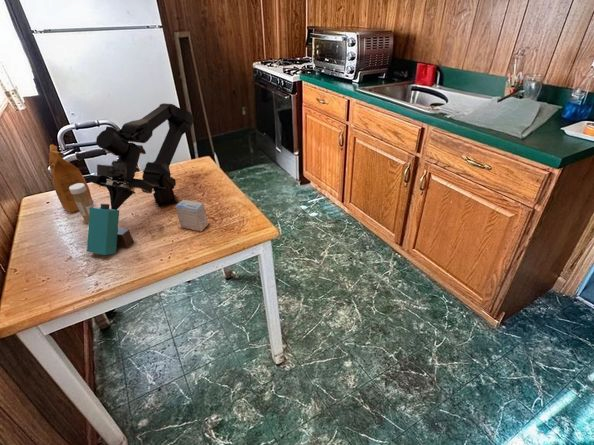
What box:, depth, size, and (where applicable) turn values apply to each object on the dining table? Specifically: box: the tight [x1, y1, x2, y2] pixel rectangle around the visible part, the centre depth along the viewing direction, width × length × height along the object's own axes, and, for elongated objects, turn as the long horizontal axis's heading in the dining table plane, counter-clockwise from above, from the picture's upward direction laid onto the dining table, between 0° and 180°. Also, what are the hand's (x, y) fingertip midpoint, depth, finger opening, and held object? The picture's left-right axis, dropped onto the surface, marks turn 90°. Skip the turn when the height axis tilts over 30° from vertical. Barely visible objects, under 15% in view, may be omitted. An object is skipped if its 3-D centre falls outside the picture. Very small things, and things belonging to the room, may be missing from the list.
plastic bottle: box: [86, 203, 120, 256], centre depth 97 cm, size 10×7×14 cm, turn 164°
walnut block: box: [116, 227, 135, 249], centre depth 101 cm, size 3×10×5 cm, turn 74°
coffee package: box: [48, 143, 94, 213], centre depth 117 cm, size 10×12×22 cm
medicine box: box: [175, 199, 209, 232], centre depth 107 cm, size 8×4×9 cm, turn 71°
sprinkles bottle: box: [69, 183, 95, 225], centre depth 110 cm, size 5×5×13 cm
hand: (113, 210), depth 100 cm, fingers closed
